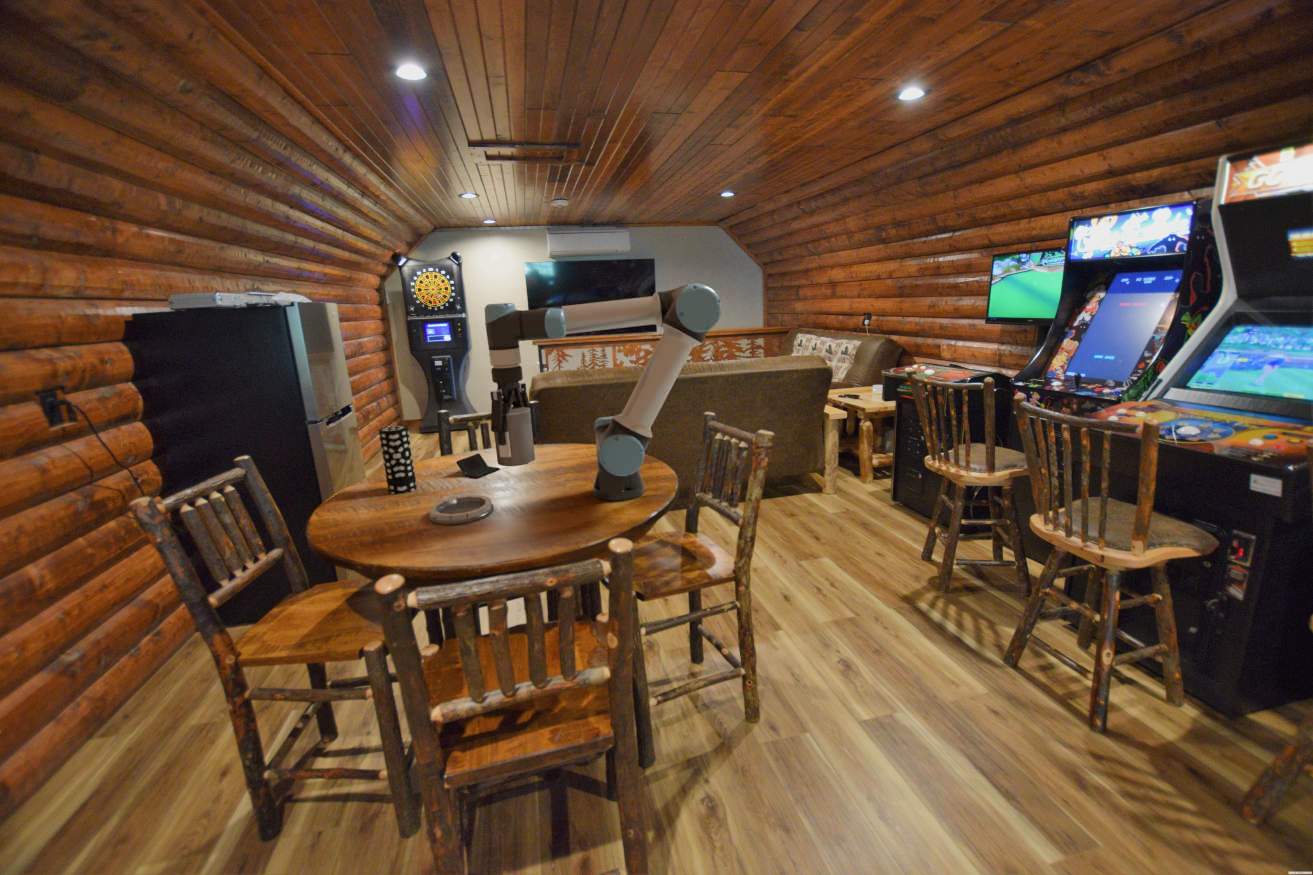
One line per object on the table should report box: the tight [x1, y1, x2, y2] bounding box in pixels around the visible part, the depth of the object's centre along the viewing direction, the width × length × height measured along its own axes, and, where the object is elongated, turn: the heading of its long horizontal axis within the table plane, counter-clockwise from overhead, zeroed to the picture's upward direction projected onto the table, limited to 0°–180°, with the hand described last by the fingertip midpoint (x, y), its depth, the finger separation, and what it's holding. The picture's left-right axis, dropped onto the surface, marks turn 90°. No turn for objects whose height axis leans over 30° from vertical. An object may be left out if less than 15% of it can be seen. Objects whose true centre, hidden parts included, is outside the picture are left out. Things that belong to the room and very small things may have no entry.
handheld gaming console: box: [455, 452, 501, 480], centre depth 198 cm, size 12×7×10 cm
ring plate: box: [428, 494, 495, 526], centre depth 160 cm, size 17×17×2 cm
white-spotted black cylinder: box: [378, 425, 418, 495], centre depth 181 cm, size 8×8×20 cm
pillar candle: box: [493, 406, 536, 467], centre depth 150 cm, size 10×10×15 cm
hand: (515, 451), depth 151 cm, fingers closed on pillar candle, 10 cm apart
